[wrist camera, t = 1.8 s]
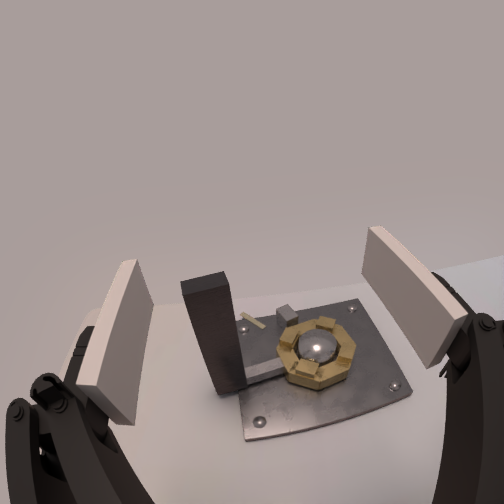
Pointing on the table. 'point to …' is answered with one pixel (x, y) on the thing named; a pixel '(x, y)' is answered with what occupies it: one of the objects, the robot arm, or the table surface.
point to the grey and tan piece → (228, 347)
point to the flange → (323, 352)
